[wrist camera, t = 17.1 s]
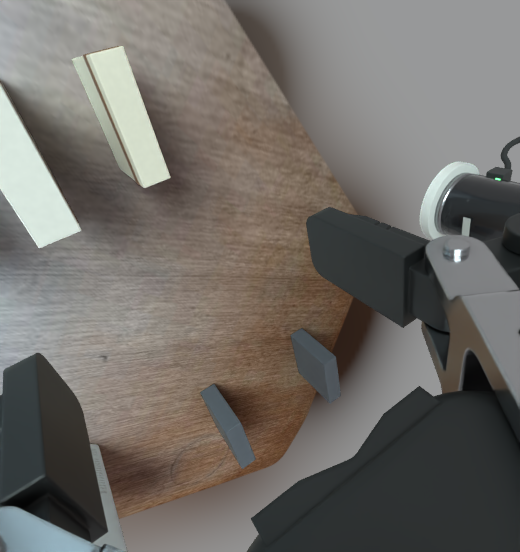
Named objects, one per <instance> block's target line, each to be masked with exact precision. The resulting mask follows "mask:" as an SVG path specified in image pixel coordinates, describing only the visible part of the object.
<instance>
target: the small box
mask: <svg viewBox="0 0 520 552" xmlns="http://www.w3.org/2000/svg"><path fill="white" fill-rule="evenodd" d="M90 447H91V452H92V457H93V461H94V466H95V471H96V476H97V480H98V485H99V490H100V494H101V499H102V504H103V509H104V513H105V518H106V523H107V528H108V532H107V533H106V534H105V535H103V536H102V537H100V538H99V539H97V540H96V541H95V542H93V544H95V545H97V546H100V547H102V546H103V544H108V545H111V546H114V547H116V548H118V549H121V550H123V551H125V552H128V551H127V547H126V544H125V540H124V536H123V533H122V529H121V525H120V522H119V518H118V514H117V511H116V507H115V503H114V500H113V496H112V492H111V489H110V485H109V481H108V478H107V474H106V471H105V467H104V463H103V459H102V456H101V452H100V449H99V446H98V445H97V444H90Z"/></svg>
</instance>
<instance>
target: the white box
mask: <svg viewBox="0 0 520 552" xmlns="http://www.w3.org/2000/svg"><path fill="white" fill-rule="evenodd" d="M0 189H1V191H2V192H3V194H4V195H5V197H6V198H7V200H8V202H9V203H10V205H11V206H12V208H13V209H14V211H15V212H16V214H17V215H18V217H19V218H20V220H21V221H22V223H23V225H24V226H25V228H26V229H27V231H28V232H29V234H30V235H31V237H32V238H33V240H34V241H35V243H36V244H37V246H38V247H39V248H42V247H45V246H47V245H49V244H52V243H54V242H57V241H59V240H61V239H64V238H66V237H69V236H71V235H73V234H76V233H78V232H81V231H82V230H81V228H80V226H79V224H78V223H79V222H78V220H77V218H76V216H75V214H74V213H73V211H72V209H71V207H70V205H69V204H68V202H67V200H66V198H65V196H64V195H63V193H62V191H61V189H60V187H59V185H58V183H57V182H56V180H55V178H54V176H53V174H52V173H51V171H50V169H49V167H48V165H47V163H46V162H45V160H44V158H43V156H42V154H41V153H40V151H39V149H38V147H37V145H36V144H35V142H34V140H33V138H32V136H31V135H30V133H29V131H28V129H27V127H26V125H25V124H24V122H23V120H22V118H21V116H20V115H19V113H18V111H17V109H16V107H15V106H14V104H13V102H12V100H11V98H10V97H9V95H8V93H7V91H6V89H5V87H4V86H3V84H2V82H1V80H0Z"/></svg>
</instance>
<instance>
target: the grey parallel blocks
mask: <svg viewBox="0 0 520 552" xmlns="http://www.w3.org/2000/svg"><path fill="white" fill-rule="evenodd" d="M291 340H292V344H293V349H294V353H295V358H296V362H297V367H298V371H299V373H300V374H301V375H302V376H303V377H304V378H305V379H306V380H307V381H308V382H309V383H310V384H311V385H312V386H313V387H314V388H315V389H316V390H317V391H318V392H319V393H320V394H321V395H322V396H323V397H324V398H325V399H326V400H327V401H328V402H329V403H332V402H333V401H334V400H336V399H337V398H338V397H340V396H341V393H340V385H339V377H338V370H337V363H336V356H334V355H333V354H332V353H331V352H330V351H328V350H327V349H326V348H325V347H324V346H322V345H321V344H320V343H319V342H318V341H317V340H315V339H314V338H313V337H312V336H311V335H309V334H308V333H307V332H306V331H305V330H303V329H302V328H301V329H300V330H298V331H296V332H295V333H293V334H292V335H291ZM200 393H201V395H202V398H203V400H204V402H205V404H206V406H207V408H208V410H209V412H210V414H211V416H212V418H213V420H214V422H215V424H216V426H217V428H218V430H219V432H220V433H221V435H222V437H223V438H224V440H225V442H226V443H227V445H228V446H229V448H230V450H231V451H232V453H233V455H234V456H235V458H236V460H237V461H238V463H239V464H240V466H241V468H242V469H243V468H244V467H246V466H247V465H248V464H250V463H251V462H252V461H254V460H255V459H256V458H255V456H254V453H253V451H252V449H251V446H250V444H249V441H248V439H247V436H246V434H245V432H244V429H243V427H242V424H241V422H240V421H239V419H238V418H237V416H236V415H235V413H234V412H233V411H232V409H231V408H230V406H229V405H228V403H227V402H226V400H225V399H224V397H223V396H222V395H221V393H220V392H219V390H218V389H217V387H216V386H215V384H213V385H211V386H210V387H208V388H206V389H205V390H203V391H202V392H200Z"/></svg>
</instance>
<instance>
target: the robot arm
mask: <svg viewBox="0 0 520 552" xmlns="http://www.w3.org/2000/svg"><path fill="white" fill-rule="evenodd" d="M518 143H520V137H518V138H516V139H514V140H512V141H511V142H509V143H508V144H507V145H506V146H505V147H504V148H503V150H502V153H501V159H502V161H503V163H504V164H505V168H499V167H495V168H493V169H491V170H490V171H488V172H487V175H486V176H483V175H478V174H472V173H467V172H464V173H461V174H459V175H457V176H456V177H454V178H453V179H452V180H451V181H450V182H449V183H448V185H447V186H446V187H445V189H444V191H443V192H442V194H441V196H440V198H439V201H438V203H437V206H436V210H435V216H434V223H435V227H436V230H437V231H438V232H439V233H441V234H443V235H446V236H442V237H438V238H436V239H433V240H432V241H429V240H426V239H424V238H421V237H419V236H416V235H414V234H410V233H408V232H406V231H403V230H400V229H398V228H395V227H392V228H391V226H390V225H387V224H385V223H380V222H379V221H377V220H374V219H372V218H369V217H367V216H360V215H351V214H347V213H344V212H342V211H339V210H337V209H334V208H331V207H328V208H326V209H324V210H322V211H320V212H318V213H316V214H314V215H312V216H310V217H309V218H308V219H307V222H306V225H307V232H308V238H309V245H310V251H311V257H312V262H313V265H314V267H315V269H316V270H317V272H318V273H319V274H320V275H321V276H322V277H324V278H325V279H327V280H328V281H330V282H331V283H333V284H335V285H336V286H338V287H339V288H341V289H343V290H344V291H346V292H347V293H349V294H350V295H352V296H354V297H355V298H357V299H358V300H360V301H362V302H363V303H365V304H366V305H368V306H370V307H371V308H373V309H374V310H376V311H377V312H379V313H381V314H382V315H384V316H385V317H387V318H389V319H390V320H392V321H393V322H395V323H396V324H398V325H400V326H401V327H403V328H404V327H405V326H406V325H408V324H409V323H411V322H412V321H414V320H415V319H416V318H418V319H420V320H421V321H422V328H421V329H422V332H423V335H424V338H425V341H426V344H427V346H428V349H429V352H430V355H431V358H432V360H433V363H434V366H435V369H436V371H437V374H438V377H439V380H440V383H441V388H442V394H441V395H437V396H434V397H433V396H432V395H431V394H429V393H428V392H427V391H425V390H424V389H422V388H421V387H420V386H419V387H417V388H416V389H415V390H414V391H412V392H411V393H410V394H409V395H407V396H406V397H405V398H403V399H402V400H401V401H400V402H398V403H397V404H396V405H395V406H393V407H392V408H391V409H390V410H388V411H387V412H386V413H384V414H383V416H382V417H381V419H380V420H379V422H378V423H377V425H376V426H375V427H374V429H373V430H372V432H371V433H370V435H369V436H368V438H367V439H366V441H365V442H364V443H363V445H362V446H361V448H360V449H359V451H358V452H357V454H356V455H355V456H354V457H352V458H351V459H349V460H347V461H345V462H342V463H340V464H337V465H335V466H333V467H330V468H328V469H326V470H323V471H321V472H319V473H316V474H314V475H312V476H310V477H307V478H305V479H302V480H300V481H298V482H297V483H296V484H294V485H293V486H292V487H290V488H289V489H288V490H287V491H285V492H284V493H283V494H282V495H280V496H279V497H278V498H276V499H275V500H274V501H273V502H271V503H270V504H269V505H268V506H266V507H265V508H264V509H262V510H261V511H260V512H259V513H257V514H256V515H255V516H254V517H252V518H251V520H252V522H253V524H254V526H255V527H256V529H257V531H258V533H259V535H258V536H257V537H256V539H255V540H254V542H253V543H252V544H251V546H250V547H249V549H248V551H247V552H520V183H517V182H512V181H510V180H511V175H512V170H511V162H510V160H509V158H508V157H507V153H508V151H509V149H510V148H511V147H512V146H514V145H516V144H518ZM107 532H108V528H107V523H106V518H105V513H104V509H103V504H102V499H101V494H100V490H99V485H98V480H97V476H96V471H95V466H94V461H93V457H92V452H91V447H90V443H89V438H88V433H87V428H86V424H85V419H84V414H83V411H82V408H81V406H80V404H79V402H78V400H77V398H76V396H75V395H74V393H73V392H72V390H71V389H70V388H69V387H68V385H67V384H66V383H65V382H64V381H63V379H62V378H61V377H60V376H59V374H58V373H57V372H56V371H55V369H54V368H53V367H52V366H51V364H50V363H49V362H48V361H47V359H46V358H45V357H44V356H43V355H42V354H40V353H36V354H34V355H32V356H30V357H28V358H26V359H24V360H22V361H20V362H18V363H16V364H14V365H12V366H10V367H8V368H6V369H5V370H4V373H3V394H2V395H0V552H125V551H123V550H121V549H118V548H116V547H114V546H111V545H108V544H103V546H102V547H100V546H97V545H95V544H93V542H95V541H96V540H97V539H99V538H100V537H102V536H103V535H105V534H106V533H107Z"/></svg>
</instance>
